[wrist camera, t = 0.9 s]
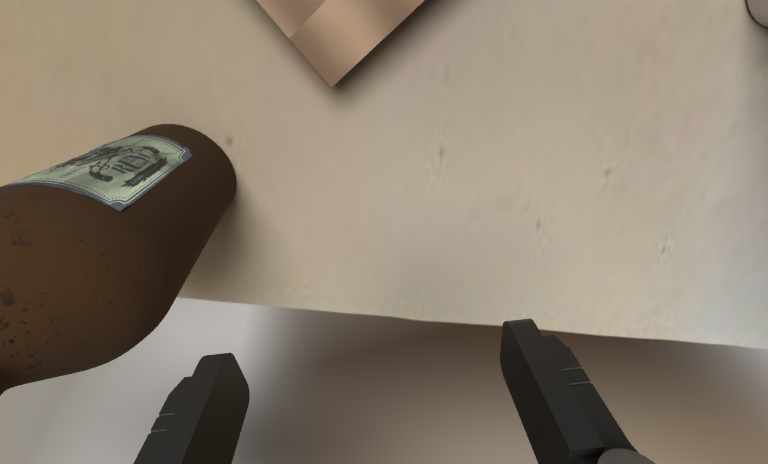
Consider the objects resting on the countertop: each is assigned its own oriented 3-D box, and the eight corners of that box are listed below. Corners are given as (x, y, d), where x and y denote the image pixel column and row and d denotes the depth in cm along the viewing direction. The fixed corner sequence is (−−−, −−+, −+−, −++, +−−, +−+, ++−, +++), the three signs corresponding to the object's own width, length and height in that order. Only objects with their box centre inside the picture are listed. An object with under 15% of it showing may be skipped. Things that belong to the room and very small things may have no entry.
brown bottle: (250, 225, 36) (93, 527, 14) (140, 223, 35) (-204, 544, 14) (233, 117, 30) (-58, 346, 9) (102, 112, 30) (-566, 353, 8)
